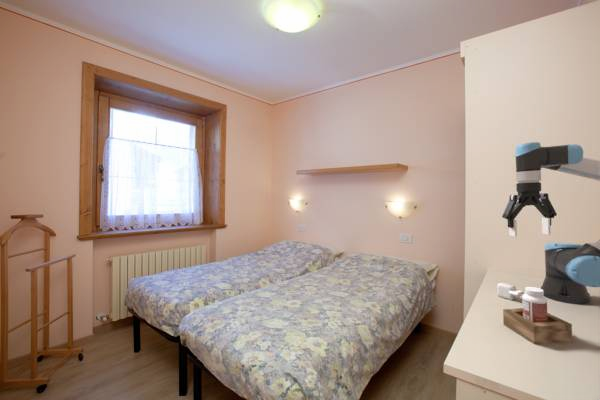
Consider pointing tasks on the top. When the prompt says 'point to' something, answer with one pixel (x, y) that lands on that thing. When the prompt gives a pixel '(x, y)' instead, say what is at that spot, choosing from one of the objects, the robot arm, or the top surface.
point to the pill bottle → (534, 305)
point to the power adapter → (508, 291)
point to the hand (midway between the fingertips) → (529, 235)
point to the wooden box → (538, 327)
